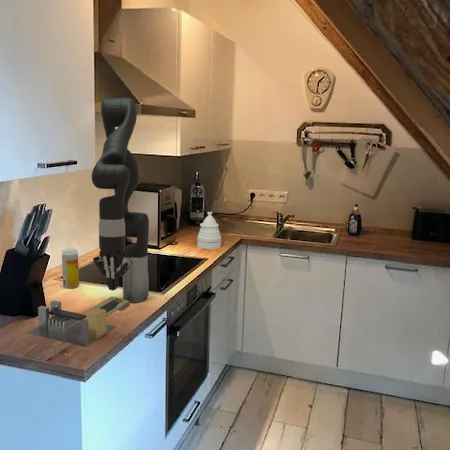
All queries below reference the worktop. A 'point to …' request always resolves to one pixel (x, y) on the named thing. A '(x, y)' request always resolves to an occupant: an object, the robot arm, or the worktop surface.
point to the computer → (112, 305)
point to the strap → (66, 314)
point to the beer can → (70, 268)
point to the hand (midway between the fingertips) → (113, 289)
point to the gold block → (96, 322)
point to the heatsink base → (63, 327)
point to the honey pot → (209, 234)
